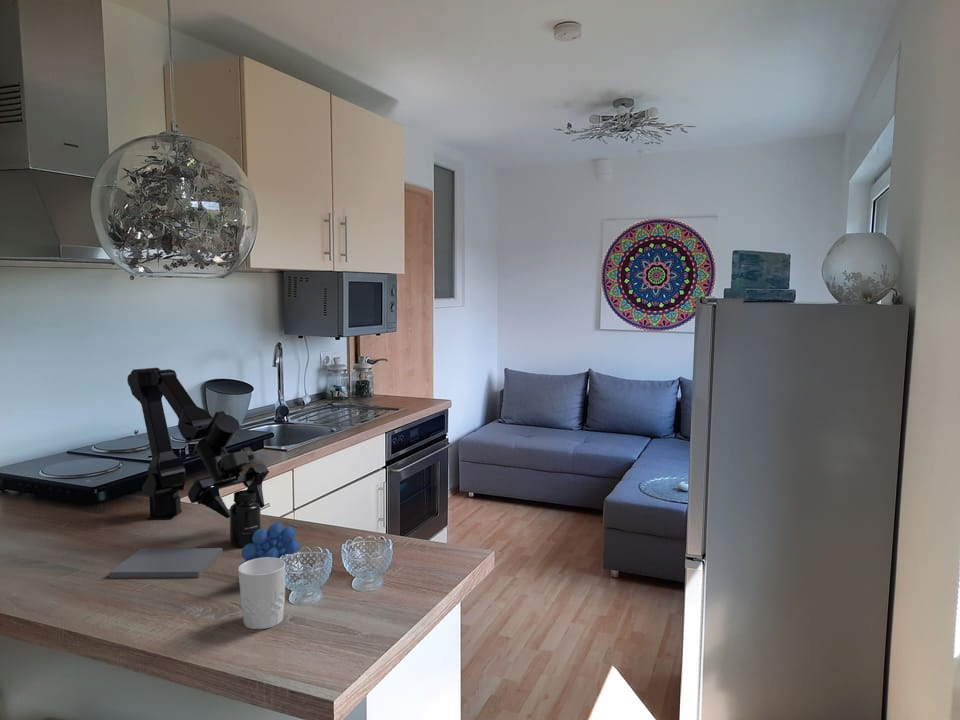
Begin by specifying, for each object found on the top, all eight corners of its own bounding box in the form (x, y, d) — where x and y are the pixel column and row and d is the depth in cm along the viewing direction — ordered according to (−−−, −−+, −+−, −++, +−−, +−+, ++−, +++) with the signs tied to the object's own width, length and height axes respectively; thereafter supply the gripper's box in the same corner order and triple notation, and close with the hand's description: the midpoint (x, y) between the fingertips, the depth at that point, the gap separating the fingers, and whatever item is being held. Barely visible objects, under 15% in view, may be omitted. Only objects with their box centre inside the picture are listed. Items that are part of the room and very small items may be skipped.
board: (109, 577, 135) (109, 572, 135) (141, 553, 148) (141, 548, 147) (198, 577, 135) (198, 571, 135) (222, 553, 148) (222, 548, 148)
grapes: (294, 568, 139) (293, 512, 138) (303, 579, 134) (302, 522, 133) (236, 580, 133) (234, 522, 132) (243, 593, 128) (241, 532, 127)
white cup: (293, 610, 120) (291, 557, 120) (278, 632, 113) (276, 575, 112) (250, 609, 121) (248, 556, 120) (232, 631, 113) (230, 574, 112)
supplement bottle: (251, 549, 150) (249, 497, 149) (224, 547, 152) (222, 495, 151) (266, 538, 157) (265, 489, 156) (240, 536, 158) (239, 487, 157)
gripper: (192, 445, 147) (224, 501, 142) (263, 431, 163) (294, 482, 157) (174, 474, 153) (204, 530, 147) (244, 459, 168) (273, 509, 162)
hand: (246, 511), depth 153 cm, fingers open, 9 cm apart
